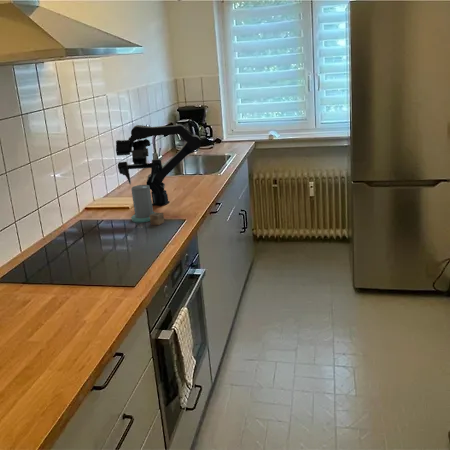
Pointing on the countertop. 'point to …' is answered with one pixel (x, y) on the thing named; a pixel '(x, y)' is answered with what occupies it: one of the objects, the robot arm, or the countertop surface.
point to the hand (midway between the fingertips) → (140, 183)
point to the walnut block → (156, 218)
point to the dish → (140, 219)
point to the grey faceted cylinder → (142, 201)
